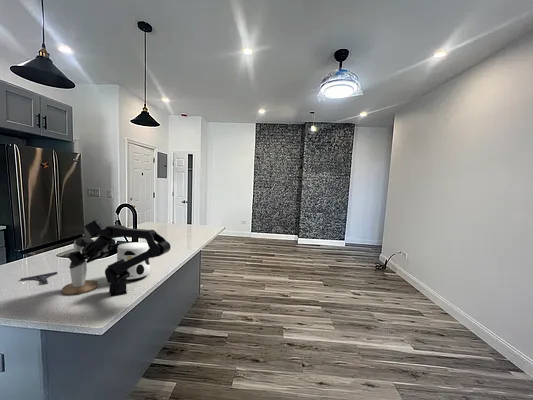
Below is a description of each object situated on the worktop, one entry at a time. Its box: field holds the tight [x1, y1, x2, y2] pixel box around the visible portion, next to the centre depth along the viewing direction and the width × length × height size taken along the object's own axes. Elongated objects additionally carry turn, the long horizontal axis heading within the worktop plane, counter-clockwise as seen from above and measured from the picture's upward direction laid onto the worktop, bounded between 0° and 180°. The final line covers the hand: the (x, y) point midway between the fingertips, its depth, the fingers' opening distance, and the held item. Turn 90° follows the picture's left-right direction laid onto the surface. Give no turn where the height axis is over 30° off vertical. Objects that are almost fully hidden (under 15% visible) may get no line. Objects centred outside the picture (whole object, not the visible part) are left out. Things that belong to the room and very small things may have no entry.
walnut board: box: [61, 279, 99, 296], centre depth 119 cm, size 14×14×2 cm
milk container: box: [116, 241, 151, 281], centre depth 137 cm, size 17×17×18 cm
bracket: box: [20, 271, 58, 285], centre depth 127 cm, size 14×15×3 cm
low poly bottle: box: [69, 240, 88, 287], centre depth 119 cm, size 6×6×22 cm
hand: (78, 265), depth 119 cm, fingers open, 9 cm apart
